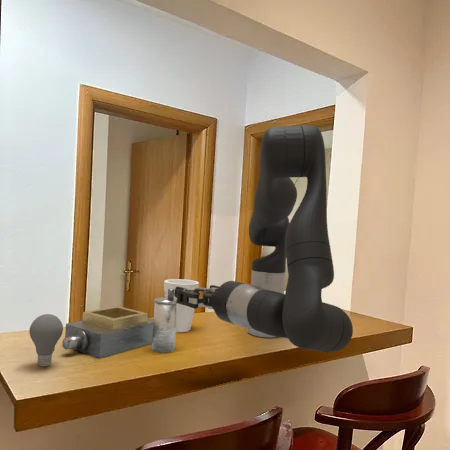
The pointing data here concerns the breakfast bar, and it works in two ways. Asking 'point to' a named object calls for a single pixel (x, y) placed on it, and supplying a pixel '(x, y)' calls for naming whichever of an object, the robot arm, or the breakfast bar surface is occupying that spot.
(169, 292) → the spout can
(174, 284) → the foam cup
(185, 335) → the breakfast bar surface
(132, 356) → the breakfast bar surface
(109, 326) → the gearbox
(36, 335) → the light bulb
